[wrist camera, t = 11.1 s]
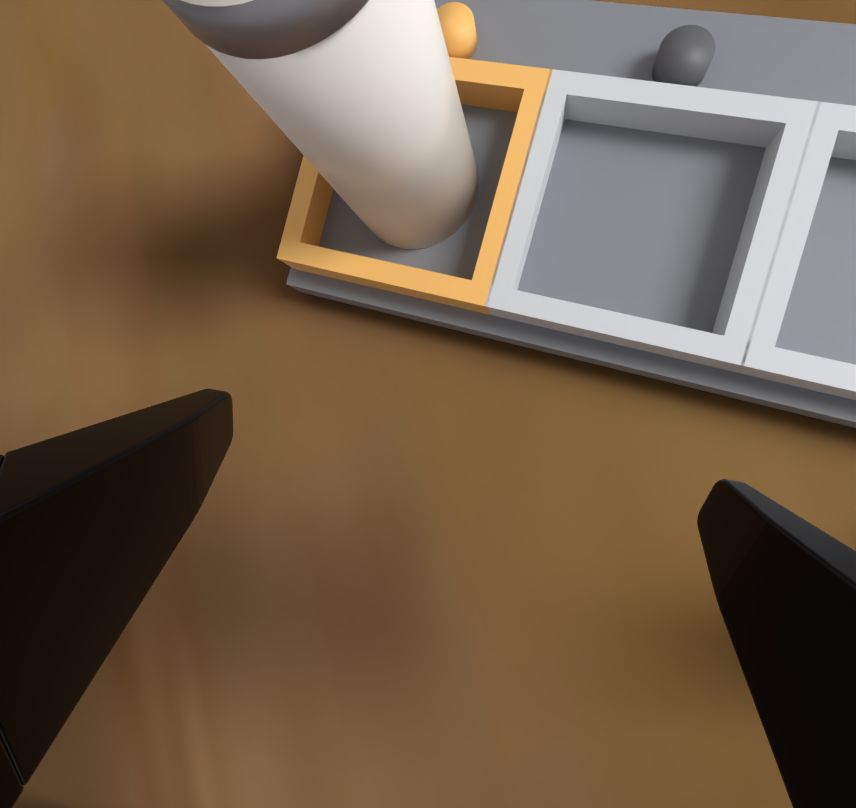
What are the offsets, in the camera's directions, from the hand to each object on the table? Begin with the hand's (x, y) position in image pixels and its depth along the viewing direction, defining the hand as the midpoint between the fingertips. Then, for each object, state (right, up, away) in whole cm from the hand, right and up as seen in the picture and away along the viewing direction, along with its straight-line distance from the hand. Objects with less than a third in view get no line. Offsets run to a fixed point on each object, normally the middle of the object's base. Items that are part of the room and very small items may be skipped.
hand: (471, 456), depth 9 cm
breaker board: (+7, +9, +11) cm, 16 cm away
